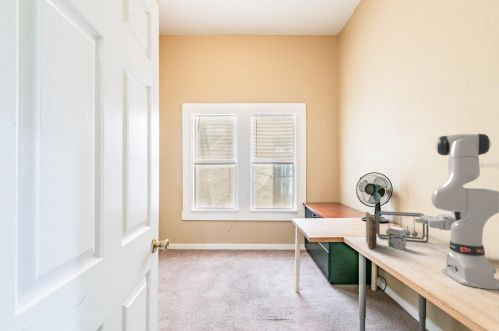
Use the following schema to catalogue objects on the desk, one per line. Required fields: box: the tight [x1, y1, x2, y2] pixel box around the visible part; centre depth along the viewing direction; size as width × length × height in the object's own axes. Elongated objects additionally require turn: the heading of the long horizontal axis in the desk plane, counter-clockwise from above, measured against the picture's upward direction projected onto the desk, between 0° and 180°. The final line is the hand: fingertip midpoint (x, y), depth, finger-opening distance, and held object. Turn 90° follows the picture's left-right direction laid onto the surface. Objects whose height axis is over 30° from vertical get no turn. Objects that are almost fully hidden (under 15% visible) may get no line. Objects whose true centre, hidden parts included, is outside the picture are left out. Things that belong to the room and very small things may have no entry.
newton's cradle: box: [375, 210, 429, 243], centre depth 184 cm, size 30×10×18 cm, turn 69°
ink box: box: [387, 226, 407, 250], centre depth 163 cm, size 9×5×12 cm, turn 26°
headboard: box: [365, 211, 378, 250], centre depth 168 cm, size 20×5×19 cm, turn 161°
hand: (415, 220), depth 160 cm, fingers closed
